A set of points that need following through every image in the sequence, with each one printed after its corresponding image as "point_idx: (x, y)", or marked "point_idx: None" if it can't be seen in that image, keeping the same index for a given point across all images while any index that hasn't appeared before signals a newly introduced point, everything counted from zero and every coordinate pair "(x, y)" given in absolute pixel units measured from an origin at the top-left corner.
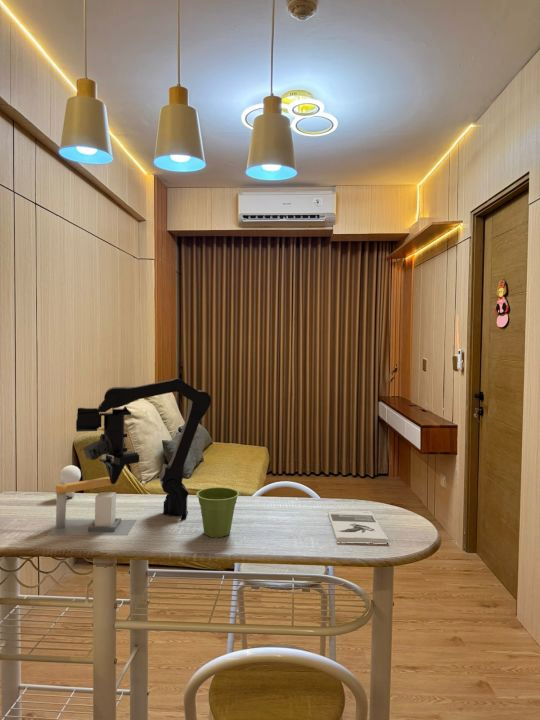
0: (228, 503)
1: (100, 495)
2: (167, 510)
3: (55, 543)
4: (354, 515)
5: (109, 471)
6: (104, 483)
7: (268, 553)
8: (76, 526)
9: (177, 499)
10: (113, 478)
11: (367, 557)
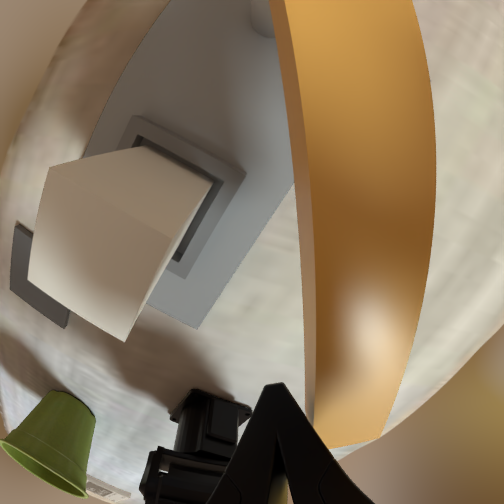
0: (17, 450)
1: (69, 216)
2: (201, 415)
3: (133, 4)
4: (105, 494)
5: (290, 485)
6: (309, 339)
7: (3, 394)
8: (237, 78)
9: (150, 454)
10: (246, 433)
11: (9, 431)
